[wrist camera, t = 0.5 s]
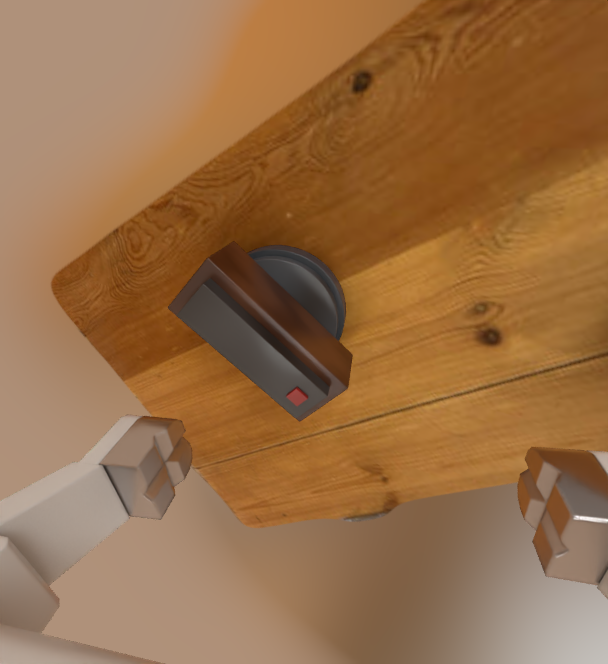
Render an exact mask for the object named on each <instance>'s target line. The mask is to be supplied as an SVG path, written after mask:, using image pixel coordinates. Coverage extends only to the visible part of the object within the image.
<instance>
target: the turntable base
mask: <svg viewBox="0 0 608 664" xmlns="http://www.w3.org/2000/svg"><path fill="white" fill-rule="evenodd" d="M247 254H248V255H249V256H250V257H251V258H252V259H255V258H259V257H264V256H281V257H286V258H291V259H293V260H296V261H299V262H301V263H303V264H305V265H307V266H308V267H310V268H311V269H313V270H314V271H315V272H316V273H317V274H318V275H320V276H321V277H322V279H323V280H324V281H325V282H326V283H327V285H328V286H329V288H330V289H331V291H332V293H333V295H334V297H335V300H336V303H337V308H338V316H339V321H338V328H337V333H336V337H335V338H336V339H337V340H338V341H339V339H340V337H341V335H342V331H343V327H344V323H345V316H346V303H345V298H344V294H343V291H342V288H341V286H340V284H339V282H338V280H337V278H336V277H335V275H334V274H333V273H332V271H331V270H330V269H329V268H328V267H327V266H326V265H325V264H324V263H323V262H322V261H321V260H319V259H318V258H316V257H315V256H313V255H312V254H310V253H308V252H306V251H303V250H301V249H298V248H295V247H290V246H283V245H271V246H265V247H260V248H258V249H255V250H252V251H250V252H249V253H247Z"/></svg>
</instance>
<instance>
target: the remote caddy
mask: <svg viewBox="0 0 608 664" xmlns="http://www.w3.org/2000/svg"><path fill="white" fill-rule="evenodd" d="M168 309H169V310H171V311H172V312H173V313H174V314H175V315H176V316H177V317H179V318H180V319H181V320H182V321H183V322H184V323H185V324H187V325H188V326H189V327H190V328H191V329H192V330H194V331H195V332H196V333H197V334H198V335H199V336H201V337H202V338H203V339H204V340H205V341H206V342H208V343H209V344H210V345H211V346H212V347H213V348H214V349H216V350H217V351H218V352H219V353H220V354H221V355H223V356H224V357H225V358H226V359H227V360H228V361H230V362H231V363H232V364H233V365H234V366H235V367H237V368H238V369H239V370H240V371H241V372H242V373H243V374H245V375H246V376H247V377H248V378H249V379H250V380H252V381H253V382H254V383H255V384H256V385H257V386H259V387H260V388H261V389H262V390H263V391H264V392H266V393H267V394H268V395H269V396H270V397H271V398H272V399H274V400H275V401H276V402H277V403H278V404H279V405H281V406H282V407H283V408H284V409H285V410H286V411H288V412H289V413H290V414H291V415H292V416H293V417H295V418H296V419H297V420H298V421H302V420H303V419H304V418H306V417H307V416H309V415H310V414H312V413H313V412H315V411H316V410H317V409H319V408H320V407H322V406H323V405H325V404H326V403H328V402H329V401H330V400H332V399H333V398H335V397H336V396H338V395H339V394H341V393H342V392H344V391H345V390H346V389H348V386H349V378H350V371H351V363H352V356H353V355H352V354H351V353H350V352H349V351H348V350H347V349H346V348H345V347H344V346H343V345H342V344H341V343H340V342H339V341H338V340H337V339H336V338H335V337H336V333H337V328H338V321H339V316H338V308H337V303H336V300H335V297H334V295H333V293H332V291H331V289H330V288H329V286H328V285H327V283H326V282H325V281H324V280H323V279H322V277H321V276H320V275H318V274H317V273H316V272H315V271H314V270H313V269H311V268H310V267H308V266H307V265H305V264H303V263H301V262H299V261H296V260H293V259H291V258H286V257H281V256H264V257H259V258H255V259H252V258H251V257H250V256H249V255H248V254H247V253H246V252H245V251H244V250H243V249H242V248H241V247H240V246H239V245H238V244H237V243H236V242H234V241H233V242H232V243H230V244H229V245H227V246H225V247H224V248H222V249H221V250H219V251H218V252H216V253H214V254H213V255H211V256H210V257H208V258H207V259H206V260H205V261H204V263H203V264H202V265H201V266H200V268H199V269H198V270H197V271H196V273H195V274H194V275H193V276H192V278H191V279H190V280H189V281H188V283H187V284H186V285H185V286H184V288H183V289H182V290H181V291H180V293H179V294H178V295H177V296H176V298H175V299H174V300H173V301H172V303H171V304H170V305H169V306H168Z"/></svg>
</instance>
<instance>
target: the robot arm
mask: <svg viewBox="0 0 608 664" xmlns="http://www.w3.org/2000/svg"><path fill="white" fill-rule="evenodd" d="M185 431H186V430H185V428H184V425H183V422H182V421H180V420H177V419H168V418H159V417H149V416H137V415H126V416H123V417H121V418H120V419H119V420H118V421H117V422H116V423H115V424H114V425H113V426H112V427H111V429H110V430H109V431H108V432H107V433H106V434H105V435H104V436H103V437H102V438H101V439H100V440H99V441H98V442H97V443H96V445H94V447H93V448H92V449H91V450H90V451H89V452H88V453H87V454H86V455H85V456H84V457H83V458H82V459H81V460H80V461H79V462H72V463H71V464H69V465H67V466H65V467H63V468H61V469H59V470H57V471H55V472H54V473H52V474H50V475H48V476H46V477H44V478H43V479H40V480H39V481H37V482H35V483H33V484H31V485H29V486H27V487H26V488H24V489H22V490H20V491H18V492H16V493H14V494H12V495H11V496H9V497H7V498H5V499H3V500H1V501H0V664H164V663H160V662H156V661H151V660H147V659H143V658H139V657H135V656H130V655H127V654H123V653H119V652H114V651H110V650H106V649H102V648H98V647H94V646H90V645H86V644H82V643H78V642H74V641H70V640H65V639H61V638H57V637H53V636H49V635H45V634H41V633H42V631H43V630H44V628H45V627H46V625H47V624H48V622H49V621H50V619H51V618H52V616H53V615H54V613H55V612H56V611H57V609H58V608H59V598H58V597H57V596H56V594H55V593H54V592H53V591H52V590H51V589H50V587H49V585H50V584H51V583H52V582H54V581H55V580H56V579H57V578H58V577H60V576H61V575H62V574H64V573H65V572H66V571H67V570H68V569H69V568H71V567H72V566H73V565H74V564H76V563H77V562H78V561H79V560H80V559H81V558H83V557H84V556H85V555H86V554H87V553H89V552H90V551H91V550H92V549H93V548H95V547H96V546H97V545H98V544H99V543H101V542H102V541H103V540H104V539H105V538H107V537H108V536H109V535H110V534H111V533H113V532H114V531H115V530H116V529H118V528H119V527H120V526H121V525H122V524H124V523H125V522H126V521H127V520H128V519H129V518H130V517H129V516H132V517H141V518H151V519H159V520H161V519H162V517H163V515H164V514H165V512H166V510H167V508H168V507H169V505H170V503H171V502H172V500H173V498H174V496H175V489H174V487H175V486H176V485H177V484H179V483H180V482H182V481H183V480H184V479H185V477H186V475H187V473H188V472H189V470H190V466H191V462H192V448H191V445H190V443H189V442H188V441H187V440H186V439H185V438H184V437H183V434H184V433H185ZM525 461H526V463H527V465H528V468H529V469H527V470H526V471H524V472H522V473H521V474H520V477H519V481H518V500H519V505H520V509H521V512H522V515H523V517H524V520H525V521H526V522H527V523H528V524H529V525H530V526H531V527H533V528H534V529H535V530H536V533H535V536H534V539H533V544H534V547H535V549H536V552H537V554H538V557H539V560H540V562H541V565H542V567H543V570H544V573H545V575H546V576H547V577H553V578H558V579H564V580H570V581H576V582H582V583H587V584H593V585H598V587H597V588H598V589H599V590H600V591H601V592H602V593H603V595H604V596H605V597H606V598H607V599H608V452H602V451H584V450H573V449H558V448H544V447H531V448H530V449H529V450H528V451H527V454H526V457H525Z"/></svg>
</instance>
